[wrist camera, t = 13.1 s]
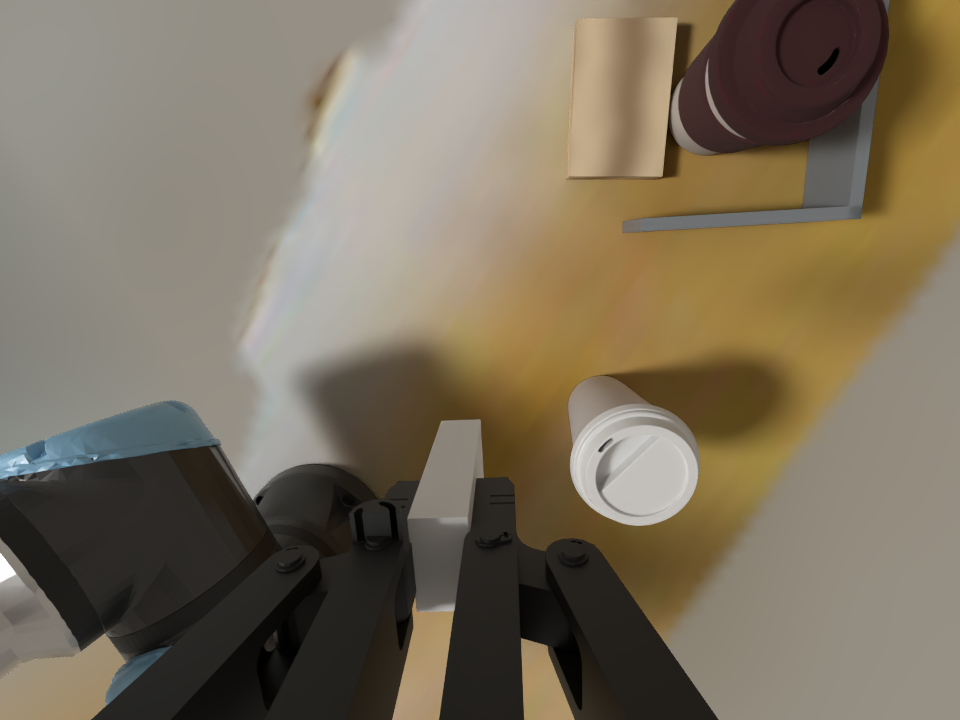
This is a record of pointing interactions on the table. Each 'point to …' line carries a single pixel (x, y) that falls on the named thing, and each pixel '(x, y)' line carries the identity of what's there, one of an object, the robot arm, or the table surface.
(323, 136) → the table surface
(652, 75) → the board
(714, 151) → the coffee cup
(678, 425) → the coffee cup
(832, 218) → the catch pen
